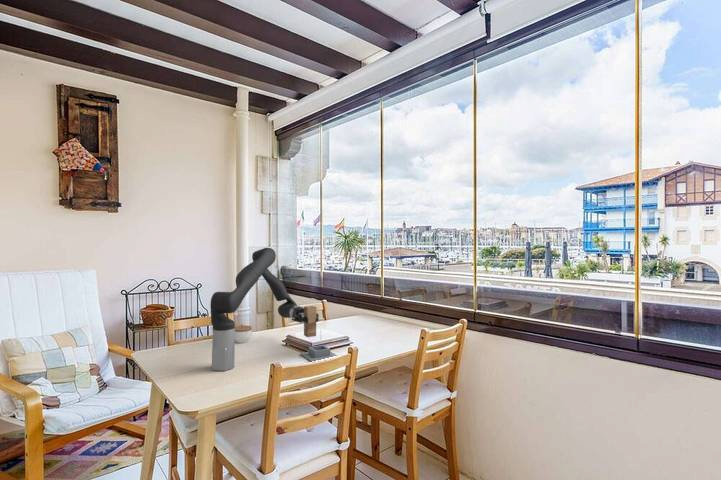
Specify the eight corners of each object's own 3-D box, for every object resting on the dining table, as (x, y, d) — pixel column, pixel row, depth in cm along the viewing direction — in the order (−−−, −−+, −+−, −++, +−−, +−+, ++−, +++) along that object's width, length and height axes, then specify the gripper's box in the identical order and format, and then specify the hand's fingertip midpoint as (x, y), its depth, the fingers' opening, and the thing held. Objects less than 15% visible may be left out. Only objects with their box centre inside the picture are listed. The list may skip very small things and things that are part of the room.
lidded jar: (255, 339, 218) (255, 323, 218) (245, 344, 208) (245, 327, 208) (238, 338, 221) (239, 321, 221) (227, 343, 211) (227, 326, 211)
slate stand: (338, 358, 186) (338, 349, 186) (311, 362, 179) (311, 353, 179) (326, 350, 198) (326, 342, 198) (300, 354, 191) (300, 346, 191)
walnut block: (316, 336, 188) (316, 307, 188) (307, 337, 186) (307, 308, 186) (312, 334, 192) (312, 305, 192) (303, 335, 190) (304, 306, 190)
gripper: (285, 307, 198) (298, 313, 183) (311, 305, 205) (326, 311, 190) (285, 322, 198) (298, 329, 183) (311, 319, 205) (326, 326, 190)
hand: (312, 320), depth 187 cm, fingers closed on walnut block, 4 cm apart
